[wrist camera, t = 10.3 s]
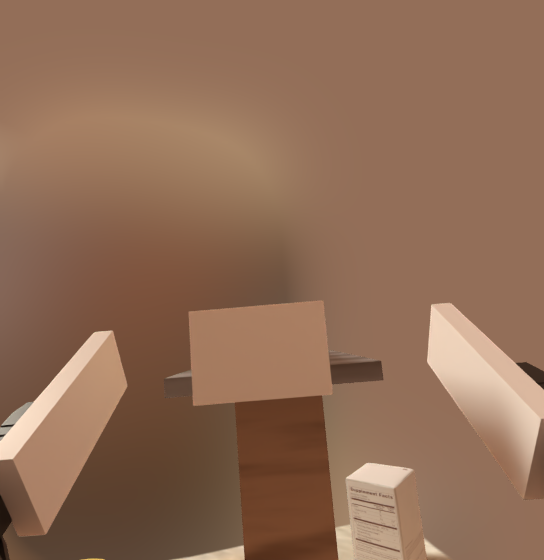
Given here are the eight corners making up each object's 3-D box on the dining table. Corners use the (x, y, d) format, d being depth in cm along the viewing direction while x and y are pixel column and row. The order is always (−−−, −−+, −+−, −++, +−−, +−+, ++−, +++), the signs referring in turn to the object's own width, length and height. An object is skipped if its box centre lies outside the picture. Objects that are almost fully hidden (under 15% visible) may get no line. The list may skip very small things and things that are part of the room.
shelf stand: (454, 951, 20) (380, 361, 24) (185, 968, 20) (164, 378, 25) (360, 617, 43) (332, 350, 48) (238, 626, 44) (222, 359, 48)
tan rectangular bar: (332, 394, 12) (323, 300, 13) (193, 405, 13) (188, 311, 13) (295, 354, 46) (293, 329, 47) (257, 357, 46) (256, 332, 47)
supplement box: (377, 552, 56) (367, 461, 58) (429, 567, 51) (416, 468, 53) (354, 578, 50) (343, 477, 52) (409, 599, 46) (395, 486, 48)
